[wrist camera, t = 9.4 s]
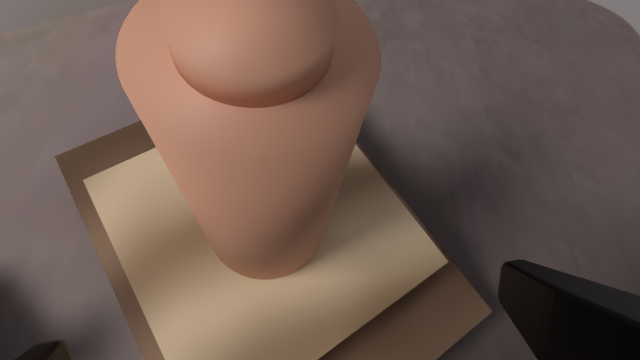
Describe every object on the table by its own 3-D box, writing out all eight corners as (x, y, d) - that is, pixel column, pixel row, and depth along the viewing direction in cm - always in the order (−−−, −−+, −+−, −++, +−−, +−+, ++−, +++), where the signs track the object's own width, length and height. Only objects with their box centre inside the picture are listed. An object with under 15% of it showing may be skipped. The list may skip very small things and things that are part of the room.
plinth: (468, 317, 20) (510, 307, 16) (231, 514, 15) (217, 560, 12) (290, 84, 26) (292, 39, 22) (78, 178, 21) (37, 140, 17)
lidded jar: (347, 224, 17) (446, 26, 7) (261, 306, 15) (229, 193, 5) (271, 151, 18) (265, -104, 8) (183, 218, 17) (36, -10, 6)
